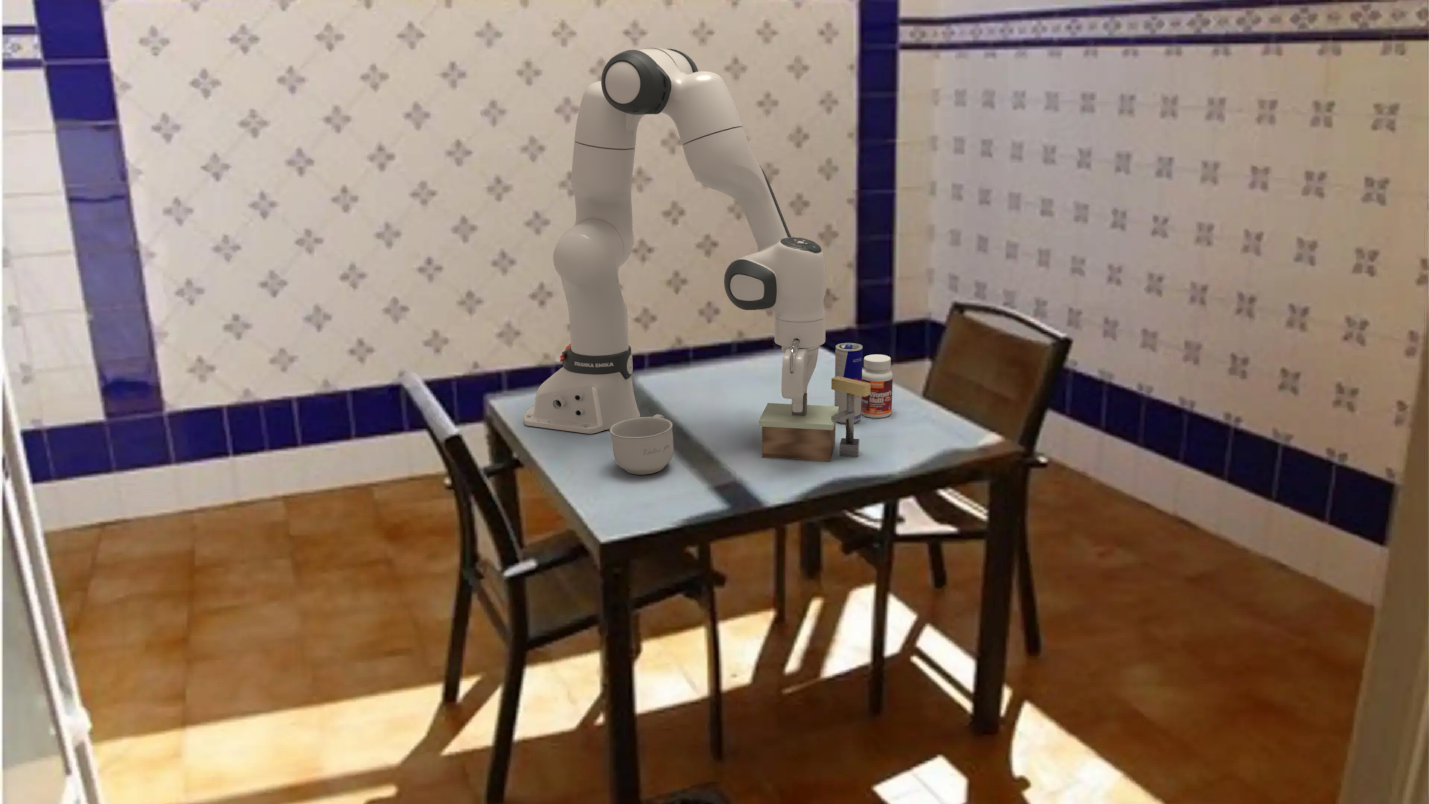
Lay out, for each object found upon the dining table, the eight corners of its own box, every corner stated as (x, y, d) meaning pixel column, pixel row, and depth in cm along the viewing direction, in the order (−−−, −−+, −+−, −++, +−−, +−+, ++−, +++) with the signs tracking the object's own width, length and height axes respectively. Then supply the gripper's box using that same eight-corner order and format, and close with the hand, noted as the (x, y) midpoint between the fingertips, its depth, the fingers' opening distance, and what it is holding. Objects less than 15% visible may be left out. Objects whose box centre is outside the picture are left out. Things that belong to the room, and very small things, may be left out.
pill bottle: (869, 420, 228) (871, 364, 224) (854, 411, 233) (855, 355, 230) (897, 416, 230) (899, 360, 226) (881, 406, 235) (883, 352, 232)
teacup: (650, 484, 199) (649, 439, 196) (599, 473, 204) (596, 429, 202) (695, 458, 210) (694, 415, 208) (645, 448, 216) (644, 406, 213)
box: (762, 457, 210) (762, 425, 208) (770, 440, 218) (770, 409, 217) (829, 461, 208) (830, 429, 206) (835, 443, 216) (835, 412, 214)
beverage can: (859, 425, 225) (861, 349, 220) (832, 424, 226) (834, 348, 221) (862, 416, 230) (863, 342, 225) (835, 415, 231) (836, 341, 226)
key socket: (839, 455, 210) (839, 444, 209) (841, 449, 213) (841, 438, 212) (857, 456, 209) (857, 445, 209) (859, 450, 212) (859, 439, 212)
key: (851, 452, 205) (852, 390, 202) (818, 443, 210) (819, 383, 206) (869, 443, 209) (870, 383, 206) (836, 435, 213) (837, 376, 210)
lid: (758, 430, 208) (758, 401, 206) (767, 412, 217) (767, 384, 216) (832, 434, 206) (833, 405, 204) (838, 415, 215) (839, 387, 213)
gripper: (810, 349, 196) (809, 428, 200) (824, 318, 215) (823, 391, 219) (772, 347, 197) (772, 426, 201) (790, 317, 216) (789, 389, 220)
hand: (799, 407), depth 211 cm, fingers closed on lid, 2 cm apart
